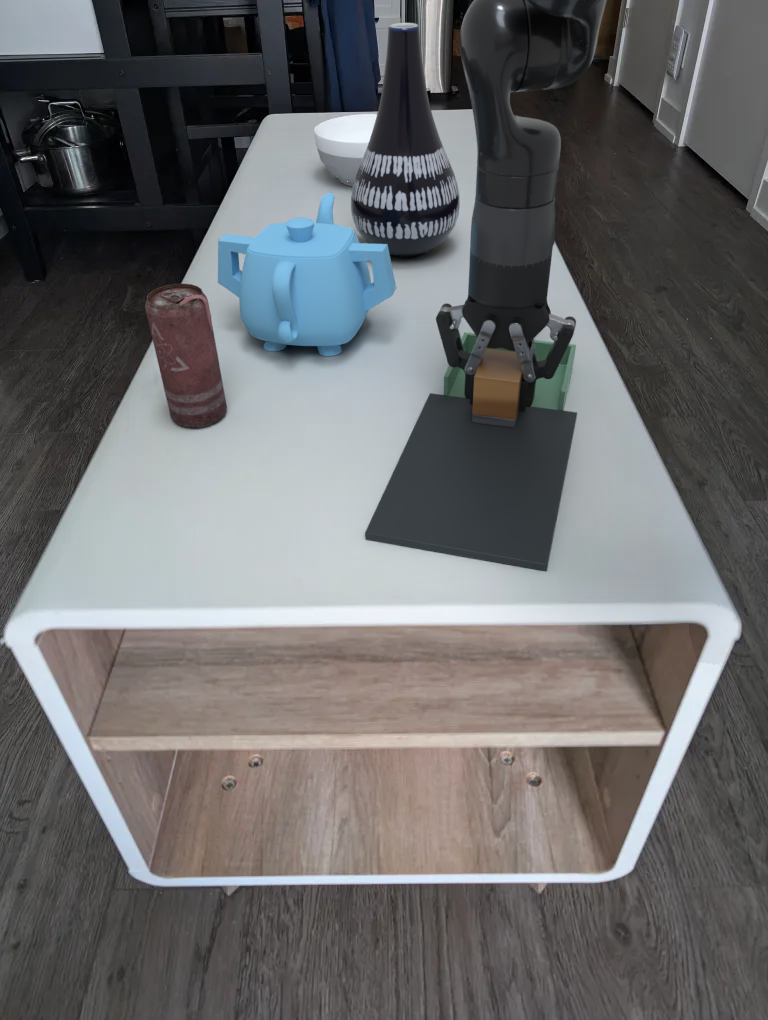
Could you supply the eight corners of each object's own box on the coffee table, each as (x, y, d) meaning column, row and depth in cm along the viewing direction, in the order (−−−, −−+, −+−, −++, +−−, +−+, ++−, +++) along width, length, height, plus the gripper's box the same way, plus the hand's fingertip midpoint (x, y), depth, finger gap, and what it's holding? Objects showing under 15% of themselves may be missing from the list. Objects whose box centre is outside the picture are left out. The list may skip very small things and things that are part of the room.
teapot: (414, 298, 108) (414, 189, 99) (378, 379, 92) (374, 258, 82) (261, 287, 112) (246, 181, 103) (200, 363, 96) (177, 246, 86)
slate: (546, 571, 67) (547, 564, 66) (365, 539, 71) (364, 532, 70) (576, 418, 84) (577, 411, 84) (429, 399, 88) (429, 392, 88)
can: (225, 429, 85) (202, 307, 76) (165, 430, 85) (136, 308, 76) (233, 398, 89) (213, 280, 80) (177, 400, 89) (150, 281, 80)
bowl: (307, 169, 152) (303, 120, 146) (401, 158, 156) (400, 109, 150) (332, 201, 138) (328, 147, 133) (434, 187, 142) (435, 135, 137)
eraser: (514, 428, 82) (519, 381, 78) (471, 422, 83) (474, 376, 79) (523, 398, 86) (528, 353, 83) (482, 393, 87) (485, 348, 84)
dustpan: (562, 415, 85) (565, 391, 83) (443, 399, 88) (444, 376, 86) (580, 332, 99) (583, 310, 97) (477, 321, 102) (478, 300, 100)
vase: (477, 242, 122) (488, 19, 103) (423, 280, 112) (424, 41, 93) (390, 223, 129) (386, 11, 110) (332, 257, 119) (316, 30, 100)
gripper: (425, 254, 72) (424, 414, 83) (586, 269, 69) (563, 433, 80) (444, 225, 78) (440, 378, 89) (594, 237, 74) (571, 395, 85)
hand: (498, 403), depth 84 cm, fingers closed on eraser, 4 cm apart
